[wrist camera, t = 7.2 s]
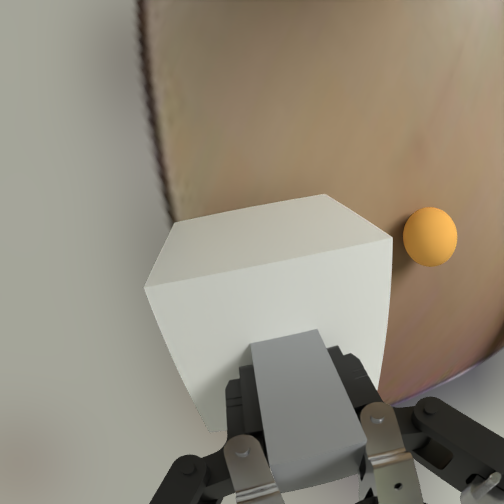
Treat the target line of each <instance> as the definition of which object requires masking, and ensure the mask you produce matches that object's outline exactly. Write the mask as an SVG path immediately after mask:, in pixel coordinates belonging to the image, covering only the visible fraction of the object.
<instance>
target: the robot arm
mask: <svg viewBox="0 0 504 504" xmlns="http://www.w3.org/2000/svg"><path fill="white" fill-rule="evenodd" d="M326 349H327V351H328V353H329V355H330V357H331V359H332V362H333V364H334V366H335V368H336V370H337V373H338V375H339V377H340V379H341V381H342V384H343V386H344V388H345V390H346V392H347V395H348V397H349V399H350V401H351V404H352V406H353V408H354V410H355V413H356V415H357V417H358V419H359V422H360V424H361V426H362V429H363V431H364V433H365V435H366V438H367V443H366V444H365V447H364V454H363V457H362V460H361V464H360V466H359V467H358V470H357V472H358V480H359V502H357V503H355V504H426V503H424V502H423V498H422V493H421V489H420V484H419V480H418V476H417V472H416V468H415V464H414V460H413V459H415V460H416V461H418V462H419V463H420V464H422V465H423V466H425V467H426V468H427V469H429V470H430V471H432V472H433V473H434V474H436V475H437V476H438V477H440V478H441V479H443V480H444V481H446V482H447V483H449V484H450V485H452V486H453V487H454V488H456V489H457V490H459V491H460V492H462V493H461V496H460V501H461V504H504V438H502V437H501V436H499V435H497V434H496V433H494V432H492V431H491V430H489V429H487V428H486V427H484V426H482V425H481V424H479V423H477V422H476V421H474V420H472V419H471V418H469V417H468V416H466V415H464V414H463V413H461V412H459V411H458V410H456V409H454V408H453V407H451V406H450V405H448V404H446V403H445V402H443V401H442V400H440V399H438V398H435V397H426V398H423V399H421V400H419V401H418V402H417V404H416V406H412V407H403V408H395V407H391V406H390V405H388V404H386V403H384V402H383V401H382V399H381V397H380V396H379V394H378V392H377V390H376V388H375V386H374V385H373V383H372V381H371V379H370V377H369V376H368V374H367V372H366V370H365V369H364V366H363V365H362V363H361V361H360V359H359V358H357V357H356V356H354V355H353V354H352V353H349V354H346V355H343V354H342V352H341V350H340V348H339V346H338V345H336V346H332V347H329V348H326ZM239 375H240V378H239V379H233V380H229V382H228V384H227V386H226V388H225V399H226V418H227V434H228V435H227V441H226V443H225V445H224V446H223V447H222V448H221V449H220V450H219V451H217V452H215V453H213V454H211V455H208V456H206V457H203V458H200V457H198V456H196V455H184V456H181V457H179V458H178V459H176V461H174V463H173V464H172V466H171V468H170V469H169V471H168V473H167V475H166V476H165V478H164V480H163V481H162V483H161V485H160V487H159V488H158V490H157V492H156V493H155V495H154V497H153V498H152V500H151V502H150V503H149V504H221V502H222V500H223V497H225V496H227V495H230V494H232V493H235V492H236V502H237V504H285V503H284V500H283V498H282V496H281V493H280V491H279V489H278V487H277V485H276V482H275V480H274V478H273V475H272V473H271V471H270V466H269V460H268V453H267V447H266V441H265V435H264V429H263V423H262V417H261V410H260V404H259V398H258V392H257V385H256V379H255V372H254V366H253V364H252V365H246V366H241V367H239Z"/></svg>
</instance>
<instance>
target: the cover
mask: <svg viewBox="0 0 504 504" xmlns="http://www.w3.org/2000/svg"><path fill="white" fill-rule="evenodd" d="M392 249H393V237H391V236H390V235H388V234H387V233H385V232H384V231H382V230H381V229H379V228H378V227H376V226H375V225H373V224H372V223H370V222H369V221H367V220H366V219H364V218H363V217H361V216H360V215H358V214H357V213H355V212H353V211H352V210H350V209H349V208H347V207H345V206H344V205H342V204H341V203H339V202H337V201H336V200H334V199H333V198H331V197H329V196H328V195H326V194H322V195H315V196H309V197H304V198H298V199H292V200H286V201H281V202H275V203H269V204H264V205H259V206H253V207H248V208H243V209H238V210H233V211H228V212H223V213H218V214H213V215H208V216H203V217H198V218H194V219H189V220H184V221H180V222H175V223H174V225H173V227H172V229H171V231H170V233H169V235H168V237H167V239H166V241H165V243H164V245H163V247H162V249H161V251H160V253H159V255H158V257H157V259H156V261H155V263H154V266H153V268H152V270H151V272H150V274H149V276H148V278H147V281H146V283H145V285H144V287H143V288H144V291H145V293H146V296H147V299H148V301H149V304H150V306H151V309H152V312H153V314H154V316H155V319H156V322H157V324H158V326H159V329H160V331H161V333H162V336H163V338H164V340H165V343H166V345H167V347H168V350H169V352H170V354H171V357H172V359H173V361H174V363H175V365H176V368H177V369H178V372H179V374H180V376H181V378H182V380H183V382H184V384H185V387H186V389H187V391H188V393H189V395H190V397H191V398H192V401H193V403H194V404H195V406H196V408H197V410H198V412H199V414H200V416H201V418H202V420H203V422H204V423H205V425H206V427H207V429H208V431H209V432H218V431H226V430H227V418H226V399H225V388H226V386H227V384H228V382H229V380H233V379H239V378H240V375H239V367H241V366H246V365H252V364H253V366H254V372H255V379H256V385H257V392H258V398H259V404H260V410H261V417H262V423H263V429H264V435H265V441H266V447H267V453H268V459H269V465H270V468H271V471H272V474H273V477H274V480H275V482H276V485H277V487H278V489H279V491H280V493H284V492H289V491H295V490H299V489H304V488H308V487H313V486H316V485H321V484H324V483H328V482H332V481H335V480H339V479H342V478H345V477H349V476H352V475H355V474H357V473H358V472H357V470H358V467H359V466H360V464H361V460H362V457H363V454H364V447H365V444H366V443H367V438H366V435H365V433H364V431H363V429H362V426H361V424H360V422H359V419H358V417H357V415H356V413H355V410H354V408H353V406H352V404H351V401H350V399H349V397H348V395H347V392H346V390H345V388H344V386H343V384H342V381H341V379H340V377H339V375H338V373H337V370H336V368H335V366H334V364H333V362H332V359H331V357H330V355H329V353H328V351H327V349H326V348H329V347H332V346H336V345H338V346H339V348H340V350H341V352H342V354H343V355H346V354H349V353H352V354H353V355H354V356H356V357H357V358H359V359H360V361H361V363H362V365H363V366H364V369H365V370H366V372H367V374H368V376H369V377H370V379H371V381H372V383H373V385H374V386H375V388H376V390H377V388H378V383H379V378H380V372H381V366H382V360H383V353H384V346H385V339H386V331H387V322H388V313H389V302H390V290H391V274H392Z"/></svg>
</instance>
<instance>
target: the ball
mask: <svg viewBox="0 0 504 504" xmlns="http://www.w3.org/2000/svg"><path fill="white" fill-rule="evenodd" d="M403 242H404V246H405V249H406V251H407V253H408V254H409V256H410V257H411V258H412V259H413V260H414V261H415V262H417V263H418V264H420V265H423V266H428V267H433V266H438V265H441V264H443V263H444V262H446V261H447V260H448V259H449V258H450V257H451V256H452V254H453V252H454V250H455V248H456V244H457V231H456V227H455V224H454V222H453V221H452V219H451V218H450V217H449V215H447V214H446V213H445V212H444V211H442V210H440V209H437V208H433V207H427V208H422V209H420V210H417V211H416V212H415V213H413V214H412V215H411V216H410V217H409V219H408V220H407V222H406V224H405V227H404V231H403Z"/></svg>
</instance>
